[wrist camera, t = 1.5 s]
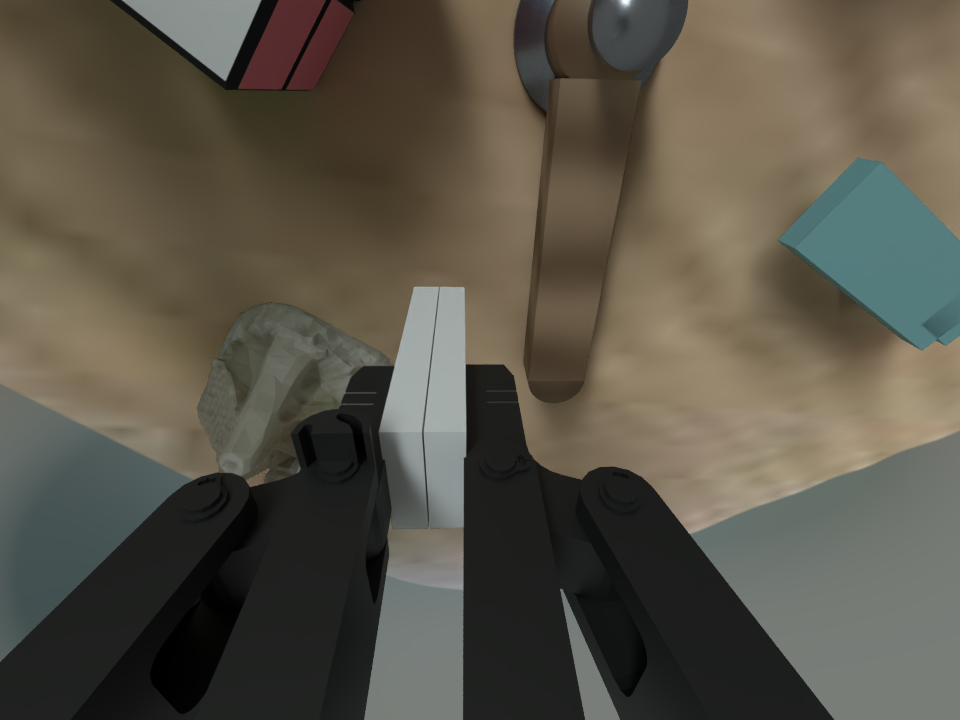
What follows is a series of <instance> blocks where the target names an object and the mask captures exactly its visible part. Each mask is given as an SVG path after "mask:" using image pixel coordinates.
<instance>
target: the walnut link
mask: <svg viewBox="0 0 960 720" xmlns="http://www.w3.org/2000/svg"><path fill="white" fill-rule="evenodd" d="M590 4H591V0H554V2H553V4H552V6H551V9H550V11H549V14H548V17H547V21H546V25H545V32H544V46H545V53H546V57H547V61H548V63H549V66H550V68H551V70H552V72H553V73H554V75H555V76H556V77H557V78H558V79H550V81H549V92H548V102H547V113H546V124H545V134H544V145H543V156H542V166H541V177H540V188H539V199H538V209H537V220H536V231H535V241H534V252H533V263H532V273H531V284H530V295H529V305H528V316H527V327H526V337H525V348H524V360H523V362H524V367H525V371H526V376H527V380H528V385H529V388H530V391H531V393H532V394H533V395H534V396H535V397H536V398H537V399H539V400H541V401H544V402H548V403H558V402H563V401H566V400H568V399H570V398H572V397H573V396H575V395H576V394H577V393H578V392H579V390H580V389H581V387H582V385H583V383H584V378H585V373H586V368H587V363H588V357H589V352H590V347H591V342H592V337H593V331H594V326H595V321H596V316H597V311H598V305H599V300H600V295H601V290H602V284H603V279H604V274H605V269H606V264H607V258H608V253H609V248H610V243H611V238H612V232H613V227H614V222H615V217H616V212H617V206H618V201H619V196H620V191H621V185H622V180H623V175H624V170H625V165H626V159H627V154H628V149H629V144H630V139H631V133H632V128H633V123H634V118H635V113H636V107H637V102H638V97H639V92H640V86H641V81H637V80H633V79H634V78H635V77H636V76H637V75H638V74H639V73H640V72H641V71H642V70H643V69H642V70H638V71H631V72H619V71H615V70H612V69H610V68H608V67H606V66H605V65H603V64H602V63H601V62H600V61H599V59H598V58H597V57H596V55H595V54H594V52H593V50H592V47H591V45H590V41H589V37H588V26H587V22H588V13H589V7H590Z"/></svg>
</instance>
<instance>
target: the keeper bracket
mask: <svg viewBox="0 0 960 720" xmlns="http://www.w3.org/2000/svg"><path fill="white" fill-rule="evenodd" d="M778 241H779V242H781V243H782V244H783V245H784V246H786V247H787V248H788V249H789V250H791V251H792V252H793V253H794V254H796V255H797V256H798V257H799V258H801V259H802V260H803V261H804V262H806V263H807V264H808V265H809V266H811V267H812V268H813V269H814V270H816V271H817V272H818V273H819V274H821V275H822V276H823V277H824V278H826V279H827V280H828V281H829V282H831V283H832V284H833V285H834V286H836V287H837V288H838V289H839V290H841V291H842V292H843V293H844V294H846V295H847V296H848V297H849V298H851V299H852V300H853V301H854V302H856V303H857V304H858V305H859V306H861V307H862V308H863V309H864V310H866V311H867V312H868V313H869V314H871V315H872V316H873V317H874V318H876V319H877V320H878V321H879V322H881V323H882V324H883V325H884V326H886V327H887V328H888V329H889V330H891V331H892V332H893V333H894V334H896V335H897V336H898V337H899V338H901V339H902V340H904V341H906V342H908V343H909V344H911V345H913V346H915V347H916V348H918V349H920V350H924V349H925V348H926V347H928V346H929V345H930V344H932V343H933V342H934V341H938V342H940V343H942V344H943V345H945V346H946V345H948V344H949V343H950V342H952V341H953V340H954V339H956V338H957V337H959V336H960V240H959V239H958V238H957V237H956V236H955V235H954V234H953V233H952V232H951V231H950V230H949V229H948V228H947V227H946V226H945V225H944V224H943V223H942V222H941V221H940V220H939V219H938V218H937V217H936V216H935V215H934V214H933V213H932V212H931V211H930V210H929V209H928V208H927V207H926V206H925V205H924V204H923V203H922V202H921V201H920V200H919V199H918V198H917V197H916V196H915V195H914V194H913V193H912V192H911V191H910V190H909V189H908V188H907V187H906V186H905V185H904V184H903V183H902V182H901V181H900V180H899V179H898V178H897V177H896V176H895V175H894V174H893V173H892V172H891V171H890V170H889V169H888V168H887V167H886V166H885V165H884V164H883V163H882V162H879V161H873V160H867V159H861V158H857V159H856V160H855V161H854V162H853V163H852V164H851V165H850V166H849V167H848V168H847V169H846V170H845V171H844V172H843V173H842V175H841V176H840V177H839V178H838V179H837V180H836V181H835V182H834V183H833V184H832V185H831V186H830V187H829V188H828V189H827V190H826V191H825V192H824V193H823V194H822V195H821V196H820V197H819V198H818V199H817V200H816V201H815V202H814V203H813V204H812V205H811V206H810V207H809V208H808V209H807V210H806V211H805V212H804V214H803V215H802V216H801V217H800V218H799V219H798V220H797V221H796V222H795V223H794V224H793V225H792V226H791V227H790V228H789V229H788V230H787V231H786V232H785V233H784V234H783V235H782V236H781V237H780V238H779V239H778Z"/></svg>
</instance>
